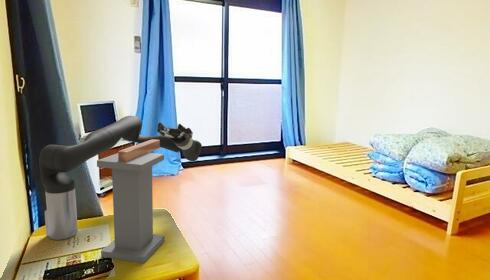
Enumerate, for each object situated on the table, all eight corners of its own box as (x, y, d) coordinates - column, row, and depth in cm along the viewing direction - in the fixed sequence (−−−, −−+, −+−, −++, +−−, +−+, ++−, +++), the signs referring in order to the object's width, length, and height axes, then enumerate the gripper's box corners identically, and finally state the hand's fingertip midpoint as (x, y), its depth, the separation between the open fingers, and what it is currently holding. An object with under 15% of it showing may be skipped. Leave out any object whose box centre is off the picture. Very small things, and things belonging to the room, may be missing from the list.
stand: (101, 256, 102) (96, 160, 97) (126, 235, 117) (124, 150, 111) (143, 263, 100) (141, 164, 94) (164, 240, 114) (164, 154, 108)
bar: (118, 160, 98) (118, 151, 97) (152, 147, 119) (152, 139, 118) (127, 161, 97) (126, 152, 96) (159, 147, 118) (159, 139, 118)
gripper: (169, 130, 146) (154, 115, 131) (198, 132, 143) (187, 117, 128) (165, 145, 143) (150, 132, 128) (195, 148, 141) (183, 135, 126)
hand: (169, 125), depth 128 cm, fingers open, 8 cm apart
